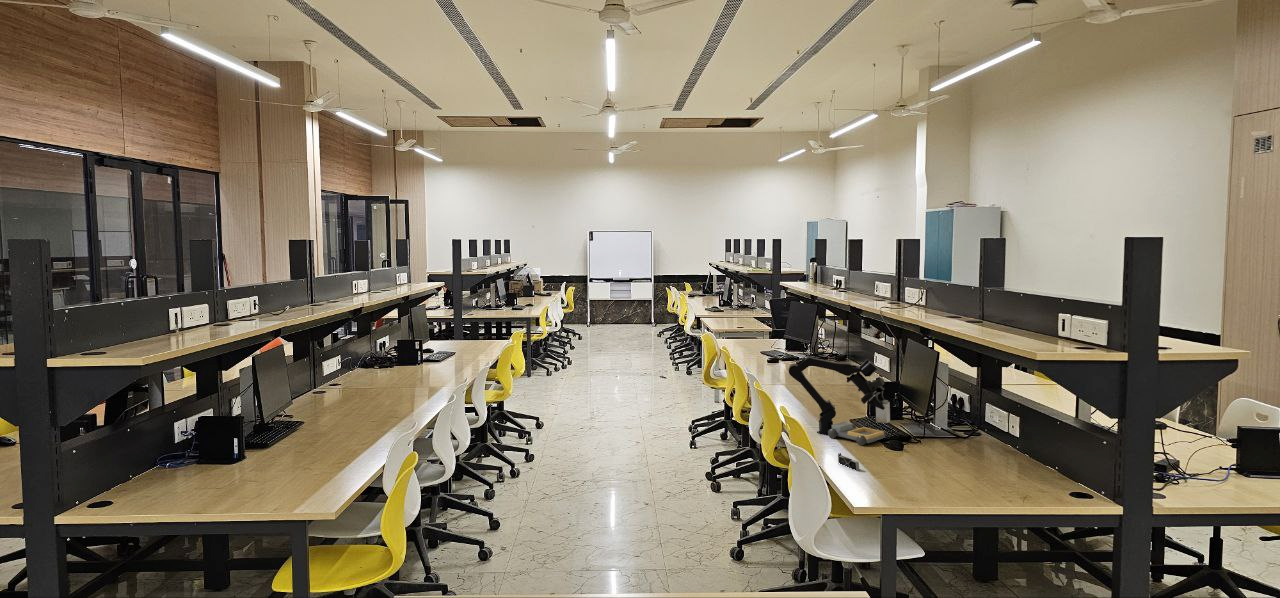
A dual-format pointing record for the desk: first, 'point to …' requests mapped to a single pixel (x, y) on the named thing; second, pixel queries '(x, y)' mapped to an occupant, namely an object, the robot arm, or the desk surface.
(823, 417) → the robot arm
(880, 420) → the grey block
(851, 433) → the truck
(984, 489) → the desk surface
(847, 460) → the graphics card
